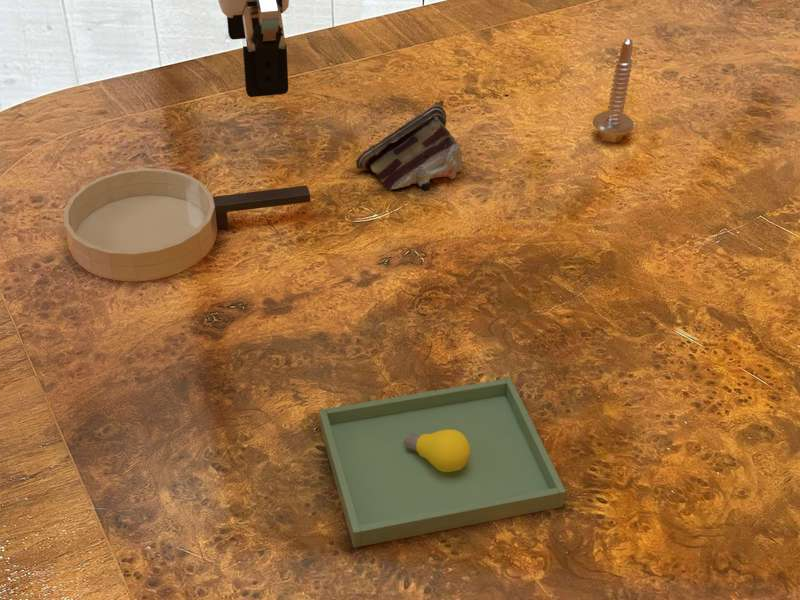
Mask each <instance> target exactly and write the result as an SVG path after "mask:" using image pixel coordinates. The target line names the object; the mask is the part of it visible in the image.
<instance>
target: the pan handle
mask: <svg viewBox="0 0 800 600" xmlns="http://www.w3.org/2000/svg"><path fill="white" fill-rule="evenodd" d="M213 200H214V204H215V212H216V222H217V231H220V230H227V229H229V222H228V221H229V220H228V213H233V212H240V211H247V210H248V211H249V210H257V209H265V208H273V207H281V206H288V205H289V206H290V205H298V204H306V203H310V202H311V193H310V190H309V187H308V185H298V186H290V187H281V188H274V189H265V190H257V191H247V192H239V193H232V194H224V195H216V196H215V195H214V196H213Z"/></svg>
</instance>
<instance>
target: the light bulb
mask: <svg viewBox="0 0 800 600" xmlns="http://www.w3.org/2000/svg"><path fill="white" fill-rule="evenodd" d="M404 444H405V446H406V448H407V450H410V451H411V450H412V451H415V452H418V453H419V455H420V456H422V457H424V458H426V459H427V460H428V461H429V462H430V463H431V464H432V465H433V466H434V467H435V468H436V469H437V470H440V471H442V472H453V471H457V470H460V469H462V468H463V467H464V466H465V465H466V463H467V462H468V460H469V456H470V445H469V443H468V441H467V439H466V438H465V436H464V435H463V434H462V433H461V432H459V431H457V430H441V431H438V432H435V433H432V434H423V435H420V436H419V435H415V434H409V435H408V436H407V437H406V438H405V439H404Z"/></svg>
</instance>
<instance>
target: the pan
mask: <svg viewBox="0 0 800 600" xmlns="http://www.w3.org/2000/svg"><path fill="white" fill-rule="evenodd" d="M213 197H214V196H213V193H212V191H211V190H210V189H209V188H208V187H207V186H206V185H205V184H204V183H203V181H200V180H199V179H197V178H195V177H194V176H192V175H189V174H188V173H184V172H180V171H176V170H172V169H168V168H156V167H155V168H152V167H142V168H133V169H124V170H120V171H116V172H113V173H109V174H106V175H103V176H100V177H99V178H97V179H95V180H92V181H91V182H89V183H87V184H85V185H83V186H82V187H81V188H80V189H79V190H77V191H76V192H75V193H74V194H73V195H72V196H70V198H69V200H68V201H67V203H66V205H65V207H64V210H63V226H64V232H65V236H66V240H67V246H68V251H69V252H70V254H71V256H72V258H73V259H74V261H75V262H76V263H77V264H78V265H79V266H80V267H81V268H82V269H84V270H85V271H87V272H89V273H91V274H93V275H95V276H98V277H100V278H104V279H107V280H112V281H119V282H146V281H155V280H159V279H163V278H168V277H171V276H173V275H176V274H179V273H181V272H184V271H186V270H188V269H190V268H192V267H193V266H195V265H197V263H199V262H201V261H202V260H203V259H204V258H205V257H206V256H207V255H208V254H209V252H211V250H212V249H213V247H214V245H215V243H216V239H217V235H218V234H217V233H218V230H217V222H216V212H215V204H214V200H213Z"/></svg>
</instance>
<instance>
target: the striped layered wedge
mask: <svg viewBox="0 0 800 600" xmlns="http://www.w3.org/2000/svg"><path fill="white" fill-rule="evenodd" d="M355 165H356V168H357V169H359V170H364V171H372V173H374V174H376V176H377V177H376V178H378V180H380V182H382V183H383V184H384V186H385V187H386V189H388V190H389V191H391V190H392V191H393V190H397V189H400V188H405V187H409V186H411V185H414V184H416V185H417V186H418V187H420V188H423V189H424V190H427V189H429V188H430V187H431V185H430V180H432V179H433V180H434V179H435V178H443V177H447V178H448V179H449V180H454V179H455V178H456V176H457V173H459V172H460V171H461V170H462V168H463V154H462V149H461V147H460V145H459V144H458V141H456V139H455V137H454V136H453V135H452V134H451V132H450V131H449V130H448V129H447V113H446V110H445V109H444V100H439V101H438V102H437V101H436V102H435V103H434V104H433V105H432V106H429V108H427V109H425V110H424V111H423V112H421V113H418V114H417V115H415V116H414V117H412V118H411V119H410V120H408V121H406V122H405V124H403V125H402V126H400V127H398V128H397V129H396V130H395V131H393V132H391V133H390V134H389V133H388V135H386V136H385V137H383V138H382V139H381V140H380V141H378V143H376V144H372V145H370V146H369V147H368V148H367V149H366V150H363V151H362V153H360V154H359V155H358V157H357V159H356V160H355Z"/></svg>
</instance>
